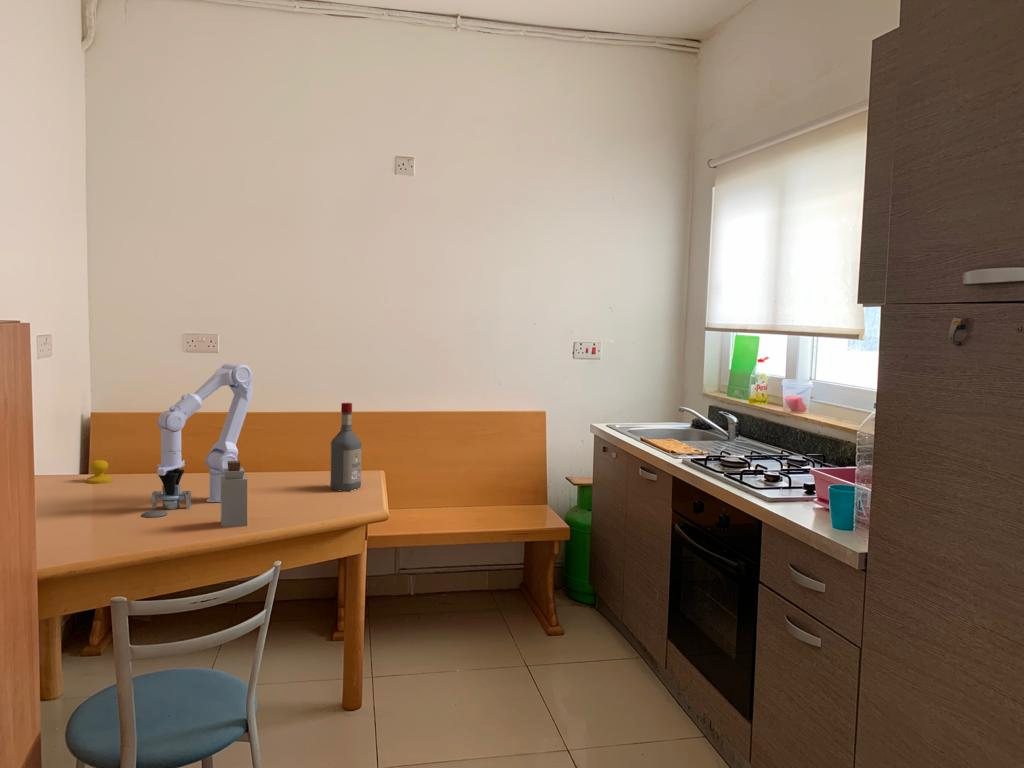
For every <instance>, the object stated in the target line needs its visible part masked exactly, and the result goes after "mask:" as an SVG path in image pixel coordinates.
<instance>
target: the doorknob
mask: <svg viewBox="0 0 1024 768" xmlns="http://www.w3.org/2000/svg"><path fill="white" fill-rule="evenodd" d="M89 468H90V470H91V471H92V472H93V474H94V475H93V476H90V477H87V478H86V483H87V484H91V485H92V484H96V485H97V484H104V483H105V484H106V483H110V482H113V476H110V475H105V473H106V472H107V470H108V468H109V463H108V462H107V461H106V460H104V459H97V460H94V461H92V463H91V464H90V467H89Z"/></svg>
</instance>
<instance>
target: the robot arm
mask: <svg viewBox="0 0 1024 768" xmlns="http://www.w3.org/2000/svg"><path fill="white" fill-rule="evenodd" d="M254 376H255V375H254V374H253V371H252V370H251V369H250V368H249V366H248V365H246V364H235V363H231V362H226V363H224V364H222V365H221V367H219V368H218V369H216V371H215V372H214V373H213V374H212V376H211V377H210V378H208V379H207V380H206V381H205V382H204V383H203V384H202V385H201V386H199V388H198V389H197V390H196V391H195V392H194V393H187V394H183V395H182V396H180V398H181V399H179V400H178V401H177V402H176V403H175V404H174V405H171V406H170V407H169V410H164V411H162V412H161V413H160V414H159V416H158V419H157V420H156V423H157V426H158V427H159V428H160V463H158V464H157V465H156V466H157V467H158V468H157V470H156V471H157V476H158V477H159V478H160V481H161V482H162V486H163V485H164V489H165V493H166V495H174V492H175V485H180V481H181V479H182V478H183V477H182V476H183V475H184V473H185V469H182V467H183V468H184V467H185V463H186V462H185V459H183V460H182V429H183V428H184V427H185V425H186V422H187V420H188V419H189V418H190V417H192V416H193V415H194V414H195V413H196V412H198V410H199V409H201V408H202V402H203V401H204V400H205V399H206V398H208V397H210V396H211V395H212V394H213V393H215V392H216V391H217V390H218V389H220V388H221V387H223V386H228V387H229V388H230V390H231V392H232V393H233V397H232V401H231V404H230V406H229V409H228V411H227V416H226V417H225V422H224V424H223V427H222V430H221V432H220V436H219V437H218V438H219V439H218V440H217V442H215V443H213V445H212V447H211V450H210V451H209V452H208V453H207V454H206V457H205V465H206V467H208V470H209V497H208V498H207V500H206V501H205V502H206V503H221V476H225V474H224V470H223V468H228V462H227V461H238V454H239V450H238V447H237V443H238V440H239V437H240V435H241V430H242V428H243V425H244V421H245V419H246V415H247V412H248V409H249V407H250V404H251V401H252V398H253V395H254V389H253V379H254Z"/></svg>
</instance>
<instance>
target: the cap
mask: <svg viewBox="0 0 1024 768" xmlns="http://www.w3.org/2000/svg"><path fill="white" fill-rule="evenodd" d="M161 489H162V490H161V491H162V494H160V495H157V499H161V500H162V501H163V500H178V499H180V500H186V495H181V485H180V484H179V485H175V492H174V495H166V493H165V489H164V485H163V484H162V488H161Z"/></svg>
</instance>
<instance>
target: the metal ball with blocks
mask: <svg viewBox="0 0 1024 768" xmlns="http://www.w3.org/2000/svg"><path fill="white" fill-rule="evenodd" d="M160 494H162V490H159V491H158V490H155V491H153V492H151V510H156V509H157V508H158V498H157V495H160ZM180 494H181V495H186V498H185V509H191V507H192V491H191V490H183V491H181V492H180ZM179 509H181V499H178V500H162V510H163V511H164V510H167V511H174V510H179Z"/></svg>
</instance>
